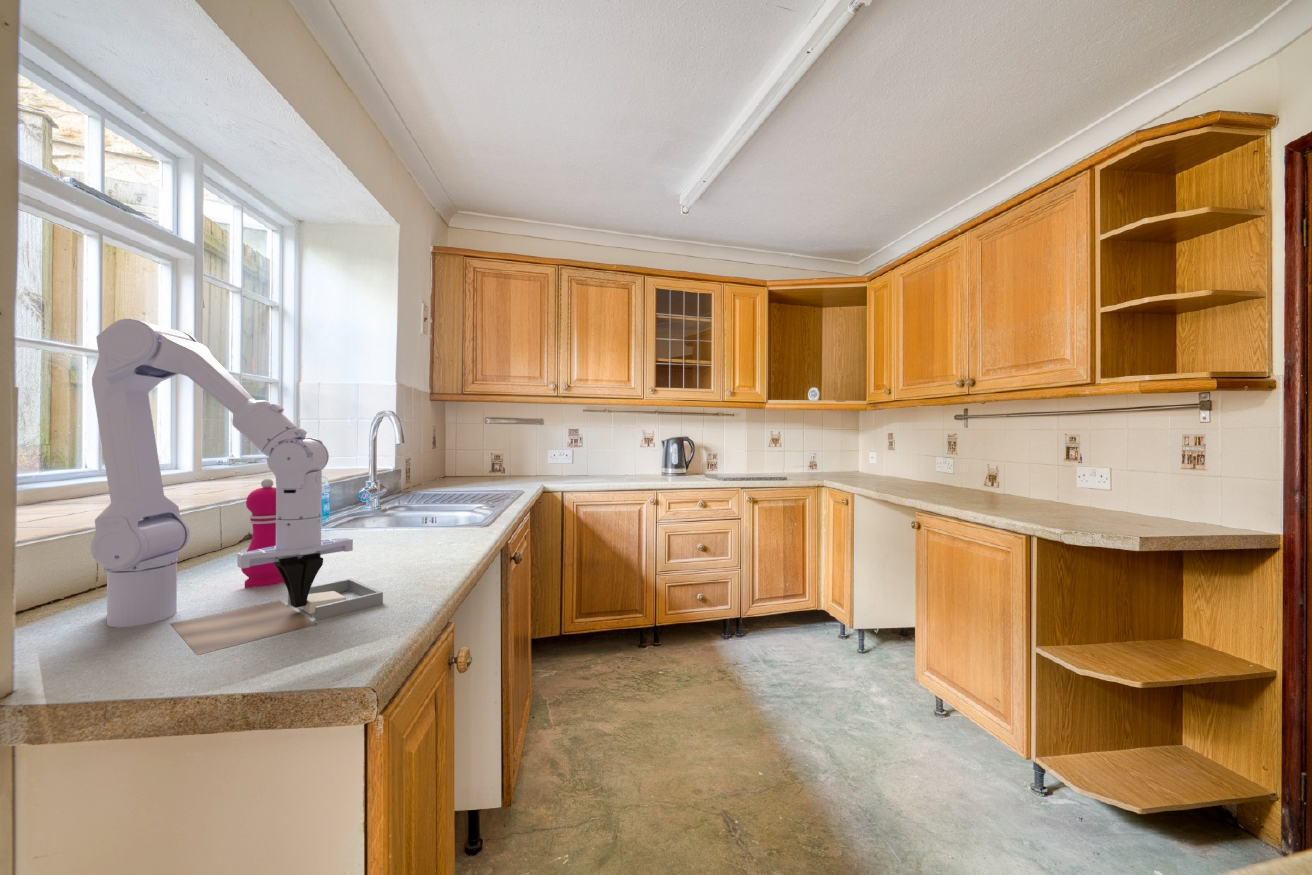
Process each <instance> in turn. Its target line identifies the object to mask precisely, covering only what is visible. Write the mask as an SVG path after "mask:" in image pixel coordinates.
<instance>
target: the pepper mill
mask: <svg viewBox="0 0 1312 875" xmlns="http://www.w3.org/2000/svg"><path fill="white" fill-rule="evenodd" d="M260 485H261V487H259V488H256V489H254V490H252V491H251V492H250V493H249V494H248V496H247V497H246V499H245V500H246V501H245V506H246V509H248V511H249V512H250V513H251V515H249V518H250V519H249V524H251V525H252V537H251V541H250V544H249V546H248V547H247V550H246V551H245V552H248V551H253V550H258V549H263V548H268V547H273V546H276V487H273V486H274V481H273V480H272V479H271V478H264V479H263V480H261V483H260ZM240 569H241V568H240ZM241 572H242V573H243V574H244V575H245V576H246V578H247V579H245V580H244V589H249V588H255V587H257V588H258V587H268V586H274V585H278V584H282V583H285V582H284V580H283V578H282V576H281V575H280V573H279V571H278V570H277V568H276V567H275V565H274V562H273V563H266V564H260V565H254V566H250V567H248V568H242V569H241Z"/></svg>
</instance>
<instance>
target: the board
mask: <svg viewBox="0 0 1312 875" xmlns="http://www.w3.org/2000/svg"><path fill="white" fill-rule="evenodd" d="M284 603H285V602H282V601H281V600H275V601H271V602H270V601H269V602H266V603H261V604H255V605H251V606H247V607H242V608H238V609H232V610H228V611H224V612H223V611H222V612H218V613H215V614H209V615H204V616H200V617H199V616H198V617H195V618H191V619H185V620H180V621H176V622H171V623H170V625H171V627H172V628H173V629H174V630H175V632H176V633H178V635H179V637H181V638H182V640H183V641H184V642H185V643H186V644H187V645H188V647H189V648H190V649H191V650H192V651H193V652H194V653H195V655H196V656H199V655H203V654H207V653H212V652H215V651H218V650H222V649H228V648H231V647H234V646H238V645H242V644H245V643H246V644H247V643H250V642H254V641H258V640H262V639H267V638H271V637H274V636H277V635H282V634H287V633H289V632H290V633H291V632H294V631H298V630H301V629H305V628H309V627H313V626H317V625H318V623H316V622H315V621H311V620H310V619H308V618H306V617H305V616H303V615H302V614H300V613H298V612H297V611H295V610H294V609H292V608H291V607H289V606H287V605H286V604H284Z"/></svg>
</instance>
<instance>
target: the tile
mask: <svg viewBox="0 0 1312 875" xmlns="http://www.w3.org/2000/svg"><path fill="white" fill-rule="evenodd" d="M346 599H347V596H345V595H343V594H340V592H339V593H337V592H335V591H329V592H321V593H314V594H308V597H307V602H306V606H302V607H298V609H300V610H301V611H303V612H305V613H306V614H308V615H309V614H315V607H316V606H320V605H325V604H329V603H333V602H338V601H342V600H346Z"/></svg>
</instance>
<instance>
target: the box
mask: <svg viewBox="0 0 1312 875" xmlns="http://www.w3.org/2000/svg"><path fill="white" fill-rule="evenodd" d="M329 591H335V592H337V593H339V594H340V593H343V592H347V591H350V592H352V593H354V594H355V595H358V596H357V597H356V596H354V597H351V598H348V599H347V598H346V600H342V601H338V602H333V603H329V604H325V605H320V606H316V607H315V612H314V617H313V616H311V615H309V613H307V612H306V611H304V610H302V609H301V608H299V607H297V608H295V607H293V606H292V605H291V601H290V596H289V593H288V592H287V602H283V603H284V604H286V605H287V606H289V607H291V608H292V609H294V610H295V611H297V612H298V613H300V614H302V615H303V616H305V617H306V618H308V619H310V620H311V621H313V622H315V621H318V620H322V619H323V620H324V619H326V618H330V617H335V616H338V615H342V614H346V613H351V612H355V611H359V610H362V609H367V608H371V607H374V606H379V605H383V604H384V592H383V591H382V590H378V589H377V588H374V587H372V586H369V585H367V584H366V583H363V582H360V581H359V580H356V579H354V578H351V577H350V578H346V579H343V580H337V581H331V582H326V583H321V584H316V585H311V588H310V591H309V594H314V593H321V592H329Z"/></svg>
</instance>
